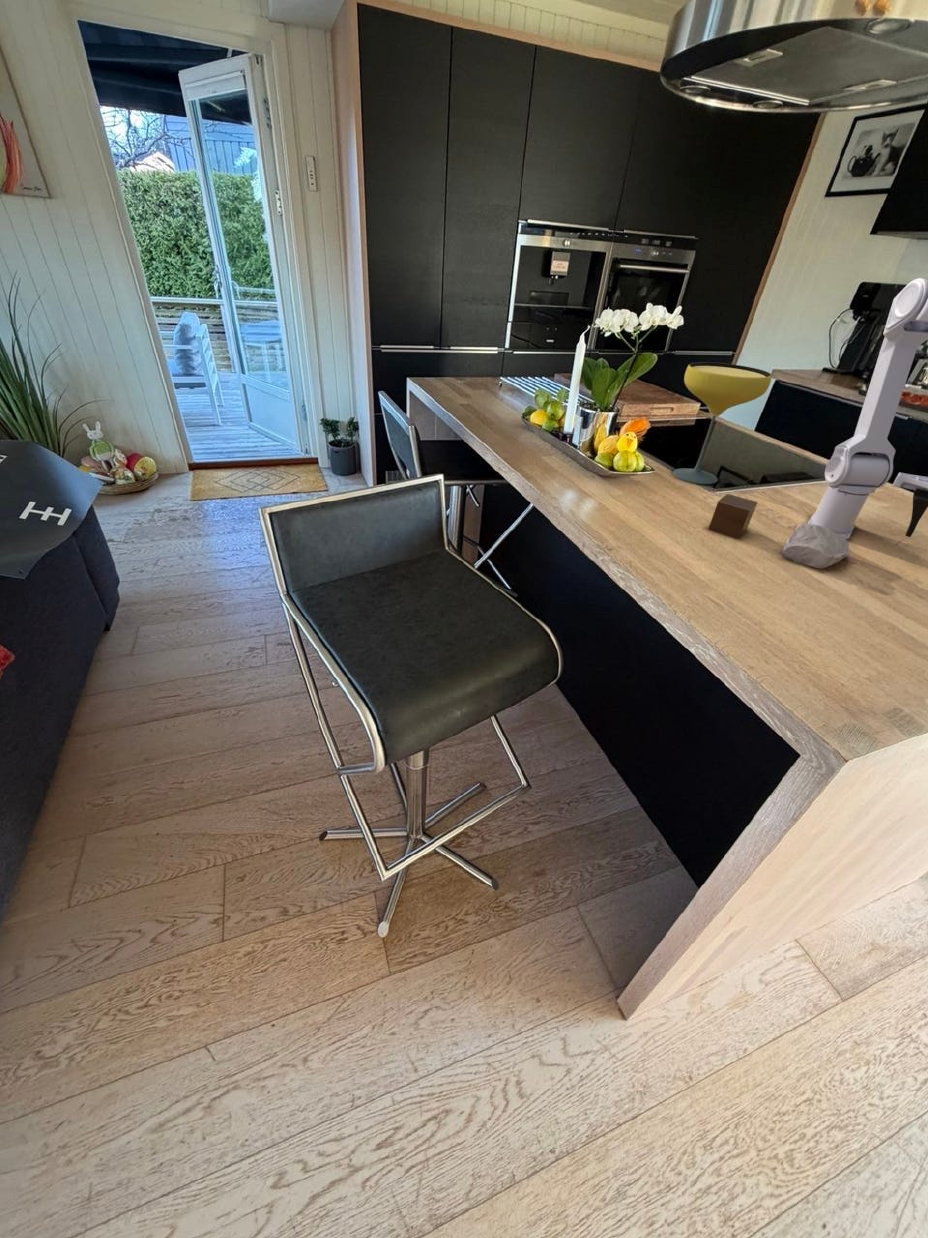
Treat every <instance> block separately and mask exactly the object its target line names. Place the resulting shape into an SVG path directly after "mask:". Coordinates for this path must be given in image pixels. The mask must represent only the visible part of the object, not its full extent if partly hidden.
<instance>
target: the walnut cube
mask: <svg viewBox="0 0 928 1238" xmlns="http://www.w3.org/2000/svg"><path fill="white" fill-rule="evenodd" d="M715 506H716V507H715V509H714V512H713V514H712V518H711V521H710V522H709V526H708V530H709V531H713V532H716V533H719V534H722V535H724V536H725V535H726V536H729V537H732V538H734V539H740V538H741V537H742V535H743V534H744V533H746V531H747V530H748V527H749V525H750V523H751V520H752V517H753V515H754V513H755V510H756V507H757V506H758V501H756V500H755V501H754V500H751V499H747V498H744V497H741V496H737V495H733V494H730V493H726V494H725V495H724V496H723V497H722V498H721V499H720V500H718V501H717V504H716V505H715Z"/></svg>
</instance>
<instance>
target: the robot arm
mask: <svg viewBox="0 0 928 1238" xmlns="http://www.w3.org/2000/svg"><path fill="white" fill-rule="evenodd" d="M882 334H883V337H884V338H883V341H882V344H881V347H880V350H879V354H878V357H877V360H876V364H875V367H874V370H873V373H872V375H871V380H870V382H869V386H868V389H867V392H866V394H865V395H866V396H865V398H864V402H863V405H862V408H861V411H860V415H859V417H858V421H857V424H856V427H855V431H854V434H853V436H852V437H850V438H849V439H846V440H845V441H842V442H841V443H839V444H837V445H836V446H835V447H834V451H833V453H832V455H831V457H830V459H829V460H828V462H827V464H826V466H825V469H824V478H825V484H827V487H826V489H825V491H824V493H823V495H822V497H821V500H820V502H819V503H818V506H817V508H816V510H815V512H814V513H813V514H812V516H811V517H810V518H809V520H808V521H807V523H808V524H812V525H819V526H821V527H824V528H827V529H830V530H831V531H832V532H835V533H837V534H839V535H841V536H843V537H844V538H845V539H846V540H849V539H850V537H851V535H852V533H853V530H854V529H855V526H856V524H855V523H856V520H857V519H858V517H859V514H860V512H861V511H862V509H863V507H864V505H865V504H866V502H867V500H868V498H869V496H870V494H875V492H876V490H877V489H880V488H882V487H884V486H885V485H886V484H887V483H888V482H889V480H890V479H891V477H892V475H893V471H894V458H895V455H896V449H895V448H894V446H893V445H892V444H891V443H890V441H889V440H888V437H889V434H890V431H891V427H892V425H893V422H894V419H895V416H896V413H897V410H898V407H899V404H900V401H901V398H902V395H903V391H904V390H905V386H906V383H907V380H908V376H909V374H910V371H911V368H912V365H913V362H914V359H915V356H916V353H917V350H918V348H919V347H920V346H921V345H923V343H925V342H926V341H928V279H925V278H921V277H919V278H915V279H913V280H912V281H910V282H908V283H907V284H906V286H905V287H903V288H902V290H901V291H899V293H897V295H896V296H894V298H893V300H892V303H891V307H890V310H889V312H888V317H887V320H886V323H885V327H884V329H883V333H882ZM857 453H869V454H870V455H869V454H857ZM892 487H894V488H898V489H899V488H903V489H908V490H911V491H912V490H913V495H912V512H911V519H910V522H909V524H908V528H907V529H906V532H905V537H908V538H911V537H912V536H913V534H914V532H915V530H916V528H917V525H918V524H919V522H920V520H921V518H922V517H923V515H924V513H925V512H926V511H927V509H928V476H923V475H916V474H910V473H904V472H898V474H897V475H896V477H895V479H894V482H893V483H892Z"/></svg>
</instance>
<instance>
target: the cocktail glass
mask: <svg viewBox="0 0 928 1238" xmlns="http://www.w3.org/2000/svg"><path fill="white" fill-rule="evenodd" d="M772 376H773V375H772V374H771V372H769V371H766V370H763V369H759V368H756V367H752V366H751V367H750V366H745V365H739V364H732V363H723V362H711V361H710V362H707V361H701V362H699V361H698V362H691V363H689V364H688V365H687V367H686V369H685V373H684V378H683V380H684V381H683V383H684V385H685V387H686V388H687V389H688V391H689V392H690V393H691V394H693V395H694V396H695V397H696V398H697V399H699V400H700V401H701V402H703V403H704V404H705V405H706V407H707V409H708V412H709V414H710V416H712V418H711V421H710V424H709V428H708V431H707V434H706V437H705V440H704V443H703V446H702V449H701V452H700V455H699V458H698V460H697V462H696V465H695V466H694V468H687V467H686V468H685V467H683V468H682V467H681V468H677V469H674V470H673V472H672V474H673V476H674V477H675V478H677V479H678V480H681V481H684V482H686V483H691V484H696V485H704V486H705V485H714V484H716V483H717V482H718V481H719V478H718V477H717V476H716V475H714V474H713V473H710V472H708V471H705V470H702V463H703V459H704V456H705V452H706V449H707V446H708V442H709V439H710V436H711V432H712V429H713V426H714V424H715V420H716V417H719V416H721V415H722V414H724V412H725V411H727V410H728V409H731V408H733V407H736V406H739V405H743V404H747V403H749V402H752V401H755V400H756V399H758V398H761V397H762V396H763V395H764V394H765V393H766V392H767V391H768V389H769V387H770V385H771V381H772Z"/></svg>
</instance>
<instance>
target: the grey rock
mask: <svg viewBox="0 0 928 1238" xmlns="http://www.w3.org/2000/svg"><path fill="white" fill-rule="evenodd" d="M849 550H850V542H849V540H848V539H845V538H844V537H843V536H841V535H839V534H837V533H835V532H832V531H831V530H830V529H827V528H824V527H821V526H819V525H812V524H808V522H804V523H799V524H798V525H797V526H796V528H795V529H794V530H793V532H792V534H791V535H790V536H788V538H787V539H786V542H785V544H784V545H783V548H782V550H781V554H782V555H783V558H784V559H785V560H789V561H793V562H794V563H797V564H798V563H799V564H803V565H806V566H809V567H812V568H814V569H820V570H821V569H822V570H823V569H825V568H827V567H830V566H833V565H835V564H837V563H839V562H840V561H842V560H843V559H844V558H846V557H848V556H849V554H850V551H849Z"/></svg>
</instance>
